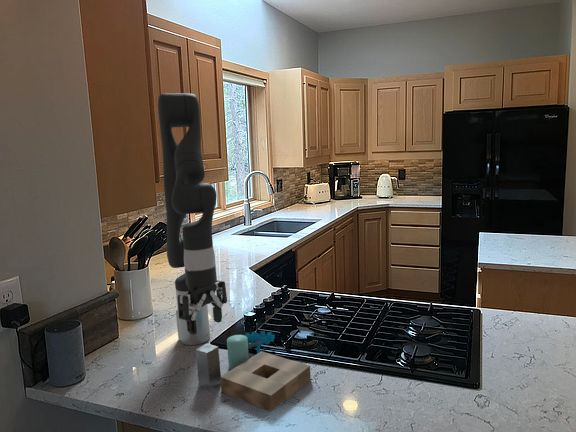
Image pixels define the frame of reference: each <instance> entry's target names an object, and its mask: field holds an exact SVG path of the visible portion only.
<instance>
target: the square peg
mask: <svg viewBox="0 0 576 432" xmlns="http://www.w3.org/2000/svg"><path fill="white" fill-rule="evenodd" d="M219 352H220V351H219V346H216V345H213V344H211V343H205V344H203V345H202V346H199V347H197V348H196V349H195V356H196V367H197V369H196V370H197V377H198V387H201V388H203V389H205V390H208V391H211V390H213V389H215V388H216V387H218V386H219V385H221V380H220V377H221V376H222V375H221V364H220V353H219Z"/></svg>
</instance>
